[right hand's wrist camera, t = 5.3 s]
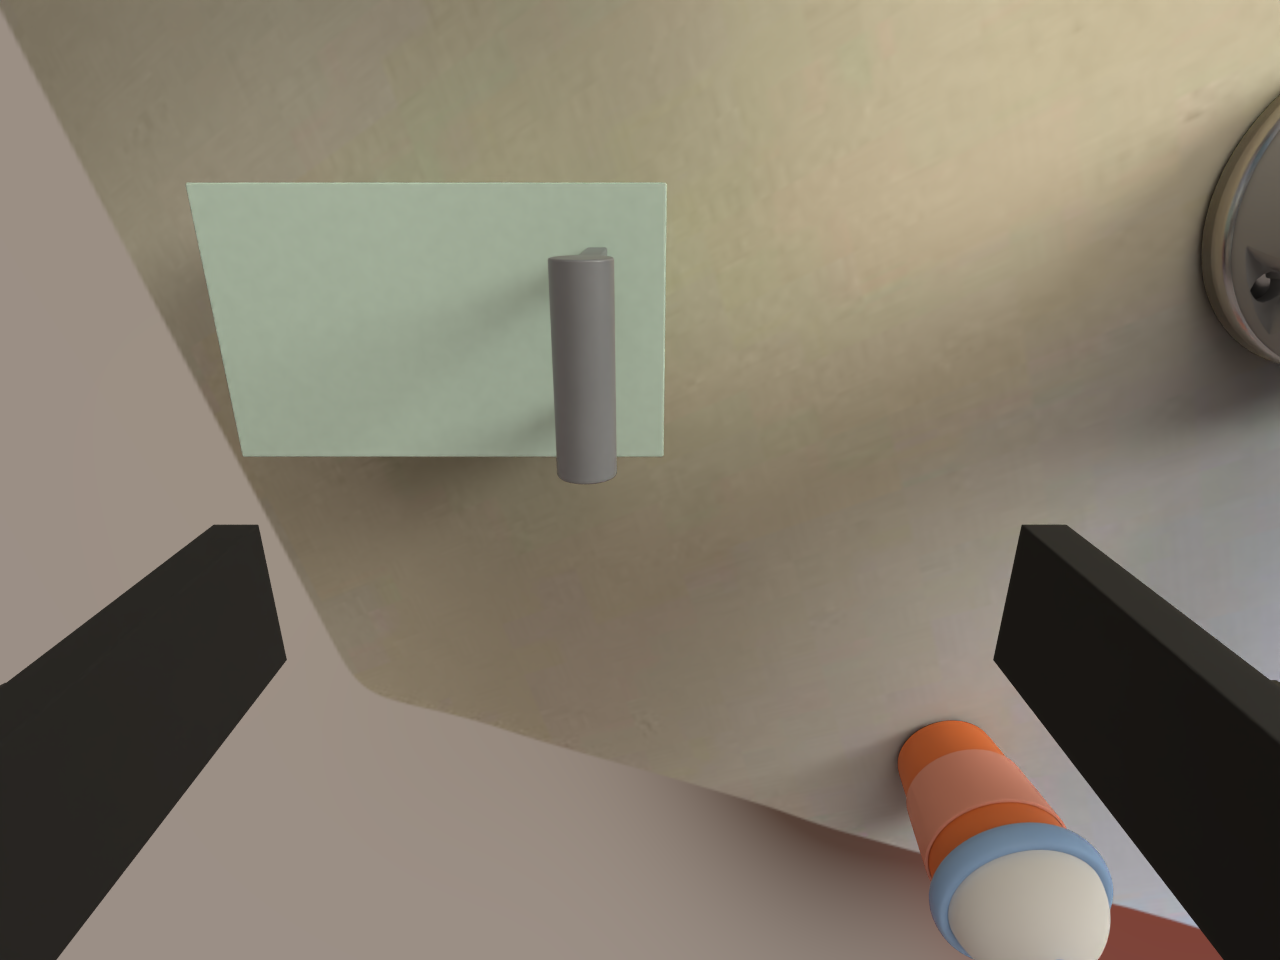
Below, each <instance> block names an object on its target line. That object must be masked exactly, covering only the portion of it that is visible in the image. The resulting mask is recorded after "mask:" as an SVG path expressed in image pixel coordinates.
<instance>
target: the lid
mask: <svg viewBox="0 0 1280 960" xmlns="http://www.w3.org/2000/svg"><path fill="white" fill-rule="evenodd" d="M186 189H187V194H188V199H189V203H190V208H191V213H192V218H193V222H194V227H195V232H196V237H197V241H198V246H199V251H200V256H201V260H202V265H203V270H204V275H205V279H206V284H207V289H208V294H209V298H210V303H211V308H212V313H213V317H214V322H215V327H216V332H217V336H218V341H219V346H220V350H221V355H222V360H223V365H224V369H225V374H226V379H227V384H228V388H229V393H230V398H231V403H232V407H233V412H234V417H235V422H236V426H237V431H238V436H239V441H240V445H241V450H242V455H243V456H244V457H556V458H557V475H558V477H559V478H560V479H562V480H564V481H566V482H570V483H575V484H595V483H601V482H605V481H608V480H610V479H612V478H614V477H615V475H616V473H617V457H663V455H664V372H665V289H666V205H667V184H666V183H665V182H519V183H186Z"/></svg>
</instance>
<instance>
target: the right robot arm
mask: <svg viewBox="0 0 1280 960" xmlns="http://www.w3.org/2000/svg"><path fill="white" fill-rule="evenodd" d="M1202 272H1203V280H1204V284H1205V289H1206V293H1207V296H1208V299H1209V301H1210V304H1211V307H1212V309H1213V311H1214V313H1215V315H1216V317H1217V318H1218V320H1219V321H1220V323H1221V324H1222V326H1223V327H1224V328H1225V330H1226V331H1227V332H1228V333H1229V334H1230V335H1231V336H1232V338H1234V339H1235V340H1236V341H1237V342H1238V343H1239V344H1240V345H1242V346H1243V347H1245V348H1246V349H1248V350H1249V351H1250V352H1252V353H1254V354H1256V355H1258V356H1260V357H1262V358H1264V359H1267V360H1269V361H1272V362H1275V363H1278V364H1280V95H1279V96H1278V97H1277V98H1276V99H1275V100H1274V101H1273V102H1272V103H1271V104H1270V105H1269V106H1268V107H1267V108H1266V109H1265V110H1264V111H1263V113H1262V114H1261V115H1260V116H1259V117H1258V118H1257V119H1256V121H1255V122H1254V123H1253V125H1252V126H1251V127H1250V128H1249V130H1248V131H1247V132H1246V133H1245V135H1244V136H1243V138H1242V139H1241V141H1240V142H1239V144H1238V145H1237V147H1236V148H1235V150H1234V152H1233V153H1232V155H1231V157H1230V159H1229V160H1228V162H1227V164H1226V166H1225V168H1224V170H1223V172H1222V174H1221V176H1220V178H1219V181H1218V183H1217V185H1216V188H1215V191H1214V193H1213V196H1212V198H1211V202H1210V205H1209V209H1208V212H1207V216H1206V220H1205V226H1204V231H1203V239H1202ZM286 660H287V659H286V654H285V650H284V645H283V640H282V636H281V631H280V626H279V621H278V616H277V612H276V607H275V602H274V597H273V593H272V588H271V583H270V578H269V574H268V569H267V564H266V559H265V555H264V550H263V545H262V541H261V536H260V531H259V526H258V525H213V526H211V527H210V528H209V529H208V530H206V531H205V532H204V533H202V534H201V535H200V536H198V537H197V538H196V539H194V540H193V541H192V542H191V543H189V544H188V545H187V546H185V547H184V548H183V549H181V550H180V551H179V552H177V553H176V554H175V555H173V556H172V557H171V558H170V559H168V560H167V561H166V562H164V563H163V564H162V565H160V566H159V567H158V568H156V569H155V570H154V571H152V572H151V573H150V574H149V575H147V576H146V577H145V578H143V579H142V580H141V581H139V582H138V583H137V584H135V585H134V586H133V587H132V588H130V589H129V590H128V591H126V592H125V593H124V594H122V595H121V596H120V597H118V598H117V599H116V600H114V601H113V602H112V603H111V604H109V605H108V606H107V607H105V608H104V609H103V610H101V611H100V612H99V613H97V614H96V615H95V616H93V617H92V618H91V619H89V620H88V621H87V622H86V623H84V624H83V625H82V626H80V627H79V628H78V629H76V630H75V631H74V632H73V633H71V634H70V635H69V636H67V637H66V638H65V639H63V640H62V641H61V642H59V643H58V644H57V645H55V646H54V647H53V648H52V649H50V650H49V651H48V652H46V653H45V654H44V655H42V656H41V657H40V658H38V659H37V660H36V661H34V662H33V663H32V664H30V665H29V666H28V667H27V668H25V669H24V670H23V671H21V672H20V673H19V674H17V675H16V676H15V677H13V678H12V679H11V680H9V681H8V682H7V683H4V684H2V685H0V960H56V959H57V958H58V957H59V956H60V954H61V953H62V952H63V950H64V949H65V948H66V946H67V945H68V944H69V942H70V941H71V940H72V939H73V937H74V936H75V935H76V933H77V932H78V931H79V930H80V928H81V927H82V926H83V924H84V923H85V922H86V920H87V919H88V918H89V917H90V915H91V914H92V913H93V911H94V910H95V909H96V907H97V906H98V905H99V903H100V902H101V901H102V900H103V898H104V897H105V896H106V894H107V893H108V892H109V890H110V889H111V888H112V887H113V885H114V884H115V883H116V881H117V880H118V879H119V877H120V876H121V875H122V874H123V872H124V871H125V870H126V868H127V867H128V866H129V864H130V863H131V862H132V860H133V859H134V858H135V857H136V855H137V854H138V853H139V851H140V850H141V849H142V848H143V846H144V845H145V844H146V842H147V841H148V840H149V838H150V837H151V836H152V834H153V833H154V832H155V831H156V829H157V828H158V827H159V825H160V824H161V823H162V821H163V820H164V819H165V818H166V816H167V815H168V814H169V812H170V811H171V810H172V808H173V807H174V806H175V805H176V803H177V802H178V801H179V799H180V798H181V797H182V795H183V794H184V793H185V792H186V790H187V789H188V788H189V786H190V785H191V784H192V782H193V781H194V780H195V778H196V777H197V776H198V775H199V773H200V772H201V771H202V769H203V768H204V767H205V765H206V764H207V763H208V762H209V760H210V759H211V758H212V756H213V755H214V754H215V752H216V751H217V750H218V749H219V747H220V746H221V745H222V743H223V742H224V741H225V739H226V738H227V737H228V736H229V734H230V733H231V732H232V730H233V729H234V728H235V726H236V725H237V724H238V723H239V721H240V720H241V719H242V717H243V716H244V715H245V713H246V712H247V711H248V710H249V708H250V707H251V706H252V704H253V703H254V702H255V700H256V699H257V698H258V697H259V695H260V694H261V693H262V691H263V690H264V689H265V687H266V686H267V685H268V684H269V682H270V681H271V680H272V678H273V677H274V676H275V674H276V673H277V672H278V670H279V669H280V668H281V667H282V665H283V664H284V663H285V661H286ZM993 660H994V661H995V663H996V664H997V665H998V667H999V668H1000V669H1001V670H1002V672H1003V673H1004V674H1005V676H1006V677H1007V678H1008V680H1009V681H1010V682H1011V684H1012V685H1013V686H1014V687H1015V689H1016V690H1017V691H1018V693H1019V694H1020V695H1021V697H1022V698H1023V699H1024V700H1025V702H1026V703H1027V704H1028V706H1029V707H1030V708H1031V710H1032V711H1033V712H1034V713H1035V715H1036V716H1037V717H1038V719H1039V720H1040V721H1041V723H1042V724H1043V725H1044V726H1045V728H1046V729H1047V730H1048V732H1049V733H1050V734H1051V736H1052V737H1053V738H1054V739H1055V741H1056V742H1057V743H1058V745H1059V746H1060V747H1061V749H1062V750H1063V751H1064V752H1065V754H1066V755H1067V756H1068V758H1069V759H1070V760H1071V762H1072V763H1073V764H1074V766H1075V767H1076V768H1077V769H1078V771H1079V772H1080V773H1081V775H1082V776H1083V777H1084V779H1085V780H1086V781H1087V782H1088V784H1089V785H1090V786H1091V788H1092V789H1093V790H1094V792H1095V793H1096V794H1097V795H1098V797H1099V798H1100V799H1101V801H1102V802H1103V803H1104V805H1105V806H1106V807H1107V808H1108V810H1109V811H1110V812H1111V814H1112V815H1113V816H1114V818H1115V819H1116V820H1117V821H1118V823H1119V824H1120V825H1121V827H1122V828H1123V829H1124V831H1125V832H1126V833H1127V835H1128V836H1129V837H1130V838H1131V840H1132V841H1133V842H1134V844H1135V845H1136V846H1137V848H1138V849H1139V850H1140V851H1141V853H1142V854H1143V855H1144V857H1145V858H1146V859H1147V861H1148V862H1149V863H1150V864H1151V866H1152V867H1153V868H1154V870H1155V871H1156V872H1157V874H1158V875H1159V876H1160V877H1161V879H1162V880H1163V881H1164V883H1165V884H1166V885H1167V887H1168V888H1169V889H1170V890H1171V892H1172V893H1173V894H1174V896H1175V897H1176V898H1177V900H1178V901H1179V902H1180V904H1181V905H1182V906H1183V907H1184V909H1185V910H1186V911H1187V913H1188V914H1189V915H1190V917H1191V918H1192V919H1193V920H1194V922H1195V923H1196V924H1197V926H1198V927H1199V928H1200V930H1201V931H1202V932H1203V933H1204V935H1205V936H1206V937H1207V939H1208V940H1209V941H1210V943H1211V944H1212V945H1213V946H1214V948H1215V949H1216V950H1217V952H1218V953H1219V954H1220V956H1221V957H1222V958H1223V959H1224V960H1280V682H1278V681H1276V680H1269V679H1268V678H1267V677H1265V676H1264V675H1263V674H1261V673H1260V672H1259V671H1257V670H1256V669H1255V668H1253V667H1252V666H1251V665H1250V664H1248V663H1247V662H1246V661H1244V660H1243V659H1242V658H1240V657H1239V656H1238V655H1236V654H1235V653H1234V652H1233V651H1231V650H1230V649H1229V648H1227V647H1226V646H1225V645H1223V644H1222V643H1221V642H1219V641H1218V640H1217V639H1215V638H1214V637H1213V636H1212V635H1210V634H1209V633H1208V632H1206V631H1205V630H1204V629H1202V628H1201V627H1200V626H1198V625H1197V624H1196V623H1194V622H1193V621H1192V620H1191V619H1189V618H1188V617H1187V616H1185V615H1184V614H1183V613H1181V612H1180V611H1179V610H1177V609H1176V608H1175V607H1173V606H1172V605H1171V604H1170V603H1168V602H1167V601H1166V600H1164V599H1163V598H1162V597H1160V596H1159V595H1158V594H1156V593H1155V592H1154V591H1152V590H1151V589H1150V588H1149V587H1147V586H1146V585H1145V584H1143V583H1142V582H1141V581H1139V580H1138V579H1137V578H1135V577H1134V576H1133V575H1131V574H1130V573H1129V572H1128V571H1126V570H1125V569H1124V568H1122V567H1121V566H1120V565H1118V564H1117V563H1116V562H1114V561H1113V560H1112V559H1110V558H1109V557H1108V556H1107V555H1105V554H1104V553H1103V552H1101V551H1100V550H1099V549H1097V548H1096V547H1095V546H1093V545H1092V544H1091V543H1090V542H1088V541H1087V540H1086V539H1084V538H1083V537H1082V536H1080V535H1079V534H1078V533H1076V532H1075V531H1074V530H1072V529H1071V528H1070V527H1069V526H1067V525H1022V526H1021V531H1020V536H1019V540H1018V545H1017V550H1016V555H1015V559H1014V564H1013V569H1012V574H1011V578H1010V583H1009V588H1008V593H1007V597H1006V602H1005V607H1004V612H1003V616H1002V621H1001V626H1000V631H999V635H998V640H997V645H996V650H995V654H994V659H993Z"/></svg>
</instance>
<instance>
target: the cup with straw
mask: <svg viewBox="0 0 1280 960" xmlns="http://www.w3.org/2000/svg"><path fill="white" fill-rule="evenodd" d="M898 771H899V775H900V778H901V781H902V785H903V788H904V791H905V794H906V797H907V799H906V805H907V810H908V814H909V817H910V821H911V824H912V827H913V830H914V834H915V837H916V840H917V843H918V846H919V850H920V853H921V856H922V859H923V863H924V866H925V869H926V872H927V875H928V877H929V879H930V881H931V884H930V889H929V905H930V910H931V914H932V917H933V920H934V922H935V924H936V926H937V928H938V930H939V931H940V932H941V934H942V936H943V937H944V938H945V939H946V940H947V942H948V943H949V944H950V945H952V946H953V947H954V948H955V949H956V950H958V951H959V952H960V953H962V954H964V955H966V956H968V957H970V958H972V959H974V960H1098V958H1099V957H1100V955H1101V954H1102V952H1103V950H1104V947H1105V945H1106V943H1107V939H1108V935H1109V930H1110V908H1111V904H1112V900H1113V884H1112V878H1111V875H1110V872H1109V870H1108V867H1107V865H1106V863H1105V861H1104V860H1103V858H1102V857H1101V855H1100V854H1099V853H1098V851H1097V850H1096V849H1095V848H1094V847H1093V846H1092V845H1091V844H1090V843H1089V842H1088V841H1086V840H1085V839H1084V838H1082V837H1081V836H1079V835H1078V834H1076V833H1074V832H1072V831H1070V830H1068V829H1067V828H1066V826H1065V825H1064V823H1063V821H1062V820H1061V819H1060V818H1059V816H1058V815H1057V814H1056V813H1055V812H1054V810H1053V809H1052V808H1051V807H1050V805H1049V804H1048V803H1047V802H1046V801H1045V799H1044V798H1043V797H1042V796H1041V795H1040V793H1039V792H1038V791H1037V790H1036V788H1035V787H1034V786H1033V785H1032V784H1031V782H1030V781H1029V780H1028V779H1027V778H1026V776H1025V775H1024V774H1023V773H1022V771H1021V770H1020V769H1019V768H1018V767H1017V766H1016V765H1015V763H1013V762H1012V761H1011V760H1010V759H1008V758H1007V757H1005V756H1004V754H1003V753H1002V752H1001V751H1000V749H999V748H998V747H997V746H996V745H995V743H994V742H993V741H992V740H991V739H990V737H989V736H988V735H987V734H986V733H985V732H984V731H983V730H981V729H980V728H978V727H977V726H975V725H973V724H970V723H967V722H963V721H941V722H937V723H933V724H930V725H928V726H926V727H924V728H922V729H920V730H918V731H917V732H916V733H914V734H913V735H912V736H911V737H910V738H909V739H908V740H907V741H906V742H905V744H904V745H903V747H902V749H901V751H900V753H899V757H898Z"/></svg>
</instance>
